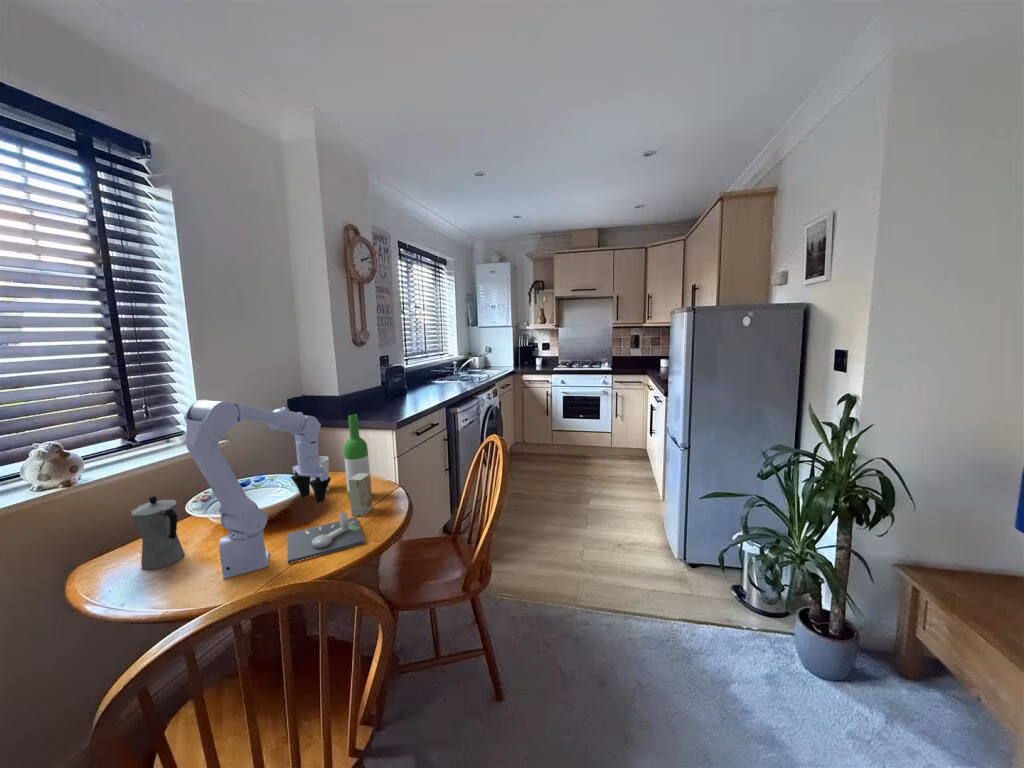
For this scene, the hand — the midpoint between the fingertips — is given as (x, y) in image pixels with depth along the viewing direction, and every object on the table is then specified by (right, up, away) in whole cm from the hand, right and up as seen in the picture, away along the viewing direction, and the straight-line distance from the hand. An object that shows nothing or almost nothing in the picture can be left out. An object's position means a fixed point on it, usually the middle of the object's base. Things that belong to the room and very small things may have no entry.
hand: (312, 499), depth 121 cm
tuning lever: (+9, -9, -6) cm, 14 cm away
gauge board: (+6, -10, -5) cm, 13 cm away
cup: (-12, -6, +30) cm, 33 cm away
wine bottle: (+6, -6, +22) cm, 24 cm away
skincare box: (+11, -8, +12) cm, 17 cm away
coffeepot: (-32, -13, -14) cm, 37 cm away
